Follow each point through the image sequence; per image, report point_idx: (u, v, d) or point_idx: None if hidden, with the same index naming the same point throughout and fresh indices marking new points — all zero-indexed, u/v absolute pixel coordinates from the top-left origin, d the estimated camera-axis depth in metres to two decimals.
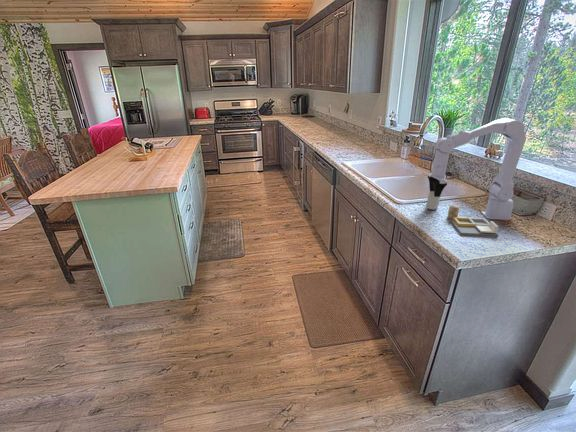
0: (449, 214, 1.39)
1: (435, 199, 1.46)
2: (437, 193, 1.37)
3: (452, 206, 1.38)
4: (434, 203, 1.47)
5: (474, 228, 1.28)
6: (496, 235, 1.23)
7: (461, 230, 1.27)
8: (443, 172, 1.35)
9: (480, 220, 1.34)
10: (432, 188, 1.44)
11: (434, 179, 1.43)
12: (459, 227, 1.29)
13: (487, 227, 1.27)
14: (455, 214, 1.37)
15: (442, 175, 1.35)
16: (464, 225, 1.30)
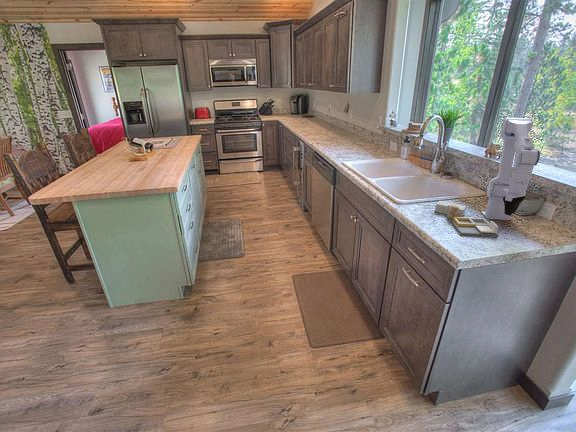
0: (449, 214, 1.39)
1: (446, 213, 1.44)
2: (508, 211, 1.20)
3: (452, 206, 1.38)
4: (441, 212, 1.46)
5: (474, 228, 1.28)
6: (496, 235, 1.23)
7: (461, 230, 1.27)
8: (518, 189, 1.15)
9: (480, 220, 1.34)
10: None
11: (515, 198, 1.20)
12: (459, 227, 1.29)
13: (487, 227, 1.27)
14: (455, 214, 1.37)
15: (517, 192, 1.16)
16: (464, 225, 1.30)
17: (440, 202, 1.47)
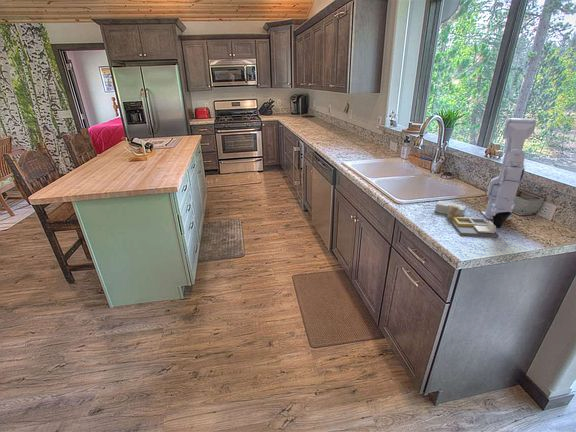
0: (449, 214, 1.39)
1: (446, 213, 1.44)
2: (496, 224, 1.24)
3: (452, 206, 1.38)
4: (441, 212, 1.46)
5: (474, 228, 1.28)
6: (496, 235, 1.23)
7: (461, 230, 1.27)
8: (503, 204, 1.18)
9: (480, 220, 1.34)
10: None
11: None
12: (459, 227, 1.29)
13: (485, 227, 1.27)
14: (455, 214, 1.37)
15: (502, 208, 1.19)
16: (464, 225, 1.30)
17: (440, 202, 1.47)
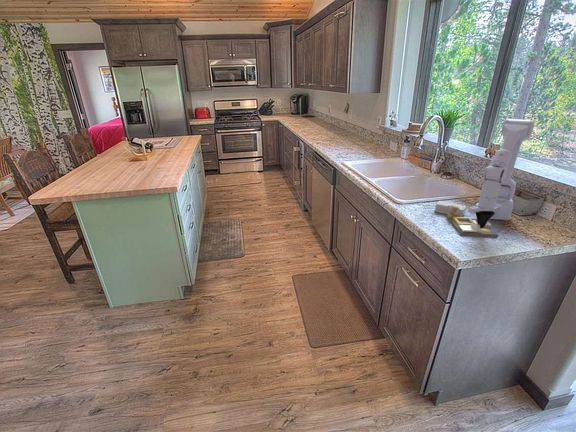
0: (449, 214, 1.39)
1: (446, 213, 1.44)
2: (479, 223, 1.25)
3: (452, 206, 1.38)
4: (441, 212, 1.46)
5: None
6: (496, 235, 1.23)
7: (461, 230, 1.27)
8: (484, 203, 1.19)
9: None
10: None
11: None
12: None
13: (469, 226, 1.28)
14: (455, 214, 1.37)
15: (483, 206, 1.20)
16: None
17: (440, 202, 1.47)
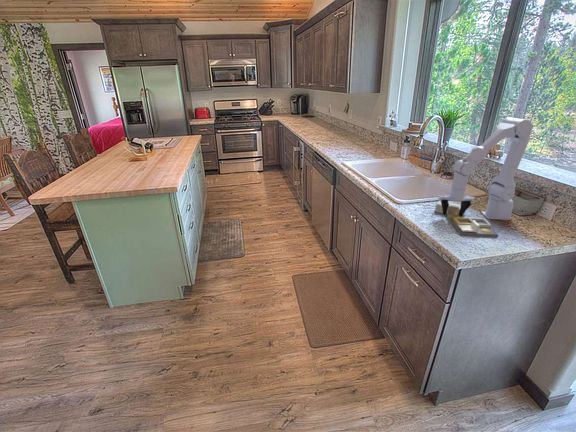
0: (449, 214, 1.39)
1: (446, 213, 1.44)
2: (443, 211, 1.40)
3: (452, 206, 1.38)
4: (441, 212, 1.46)
5: None
6: (496, 235, 1.23)
7: (461, 230, 1.27)
8: (452, 193, 1.34)
9: (480, 220, 1.34)
10: (460, 212, 1.39)
11: (463, 204, 1.37)
12: None
13: (469, 226, 1.28)
14: (455, 214, 1.37)
15: (451, 196, 1.35)
16: None
17: (440, 202, 1.47)
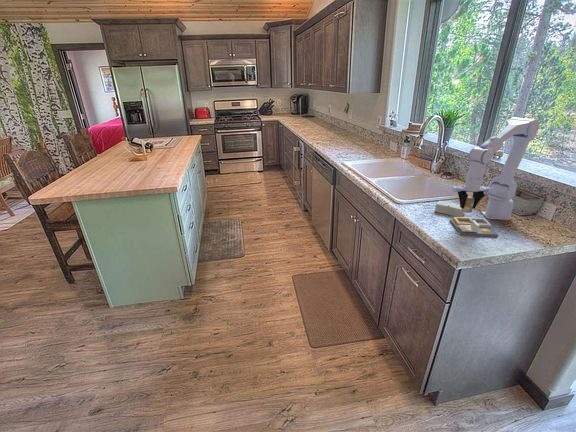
0: (464, 206, 1.29)
1: (446, 213, 1.44)
2: (461, 203, 1.30)
3: (467, 197, 1.29)
4: (441, 212, 1.46)
5: None
6: (496, 235, 1.23)
7: (461, 230, 1.27)
8: (468, 184, 1.25)
9: (480, 220, 1.34)
10: None
11: (475, 194, 1.28)
12: None
13: (469, 226, 1.28)
14: (470, 206, 1.28)
15: (466, 186, 1.26)
16: None
17: (440, 202, 1.47)
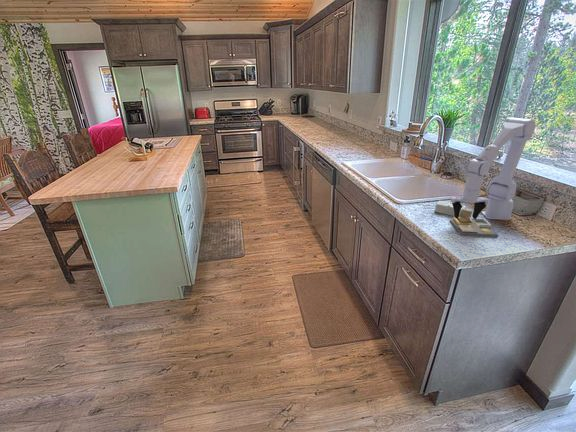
0: (461, 218, 1.32)
1: (446, 213, 1.44)
2: (455, 214, 1.32)
3: (464, 210, 1.31)
4: (441, 212, 1.46)
5: None
6: (496, 235, 1.23)
7: (461, 230, 1.27)
8: (466, 195, 1.27)
9: (480, 220, 1.34)
10: (474, 214, 1.32)
11: (477, 205, 1.30)
12: None
13: (469, 226, 1.28)
14: (468, 218, 1.30)
15: (464, 197, 1.28)
16: None
17: (440, 202, 1.47)
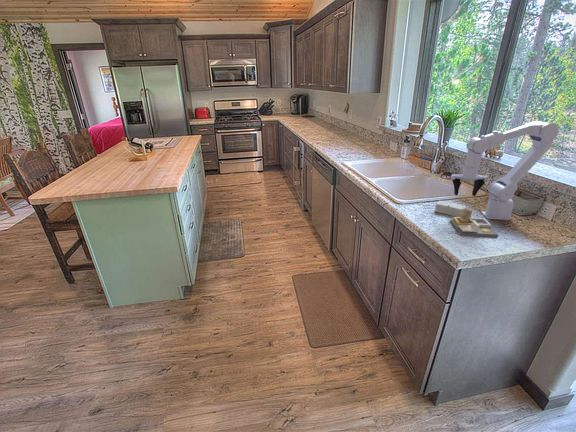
0: (461, 218, 1.31)
1: (446, 213, 1.44)
2: (455, 191, 1.39)
3: (464, 210, 1.31)
4: (441, 212, 1.46)
5: None
6: (496, 235, 1.23)
7: (461, 230, 1.27)
8: (465, 172, 1.34)
9: (480, 220, 1.34)
10: (473, 192, 1.38)
11: (476, 183, 1.36)
12: None
13: (469, 226, 1.28)
14: (468, 218, 1.30)
15: (464, 174, 1.34)
16: None
17: (440, 202, 1.47)
